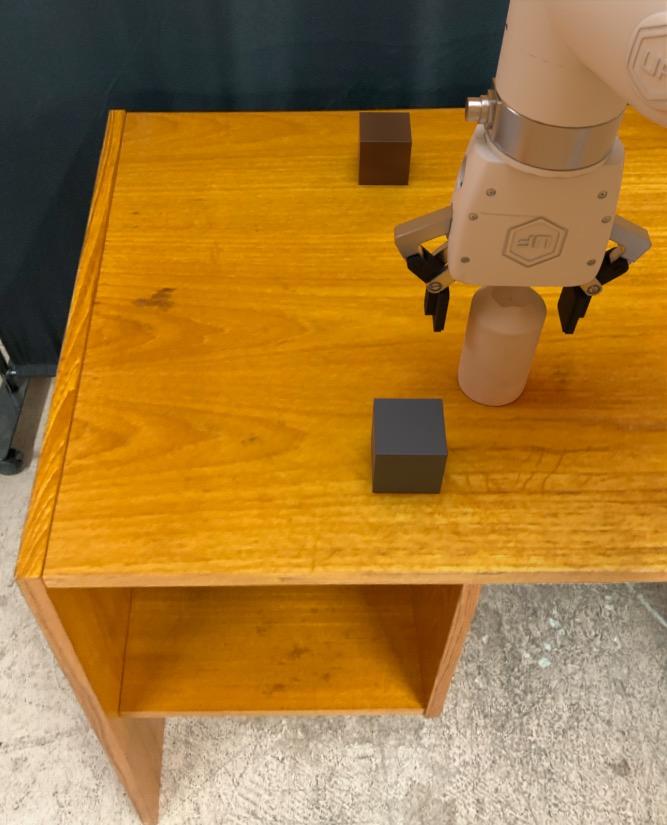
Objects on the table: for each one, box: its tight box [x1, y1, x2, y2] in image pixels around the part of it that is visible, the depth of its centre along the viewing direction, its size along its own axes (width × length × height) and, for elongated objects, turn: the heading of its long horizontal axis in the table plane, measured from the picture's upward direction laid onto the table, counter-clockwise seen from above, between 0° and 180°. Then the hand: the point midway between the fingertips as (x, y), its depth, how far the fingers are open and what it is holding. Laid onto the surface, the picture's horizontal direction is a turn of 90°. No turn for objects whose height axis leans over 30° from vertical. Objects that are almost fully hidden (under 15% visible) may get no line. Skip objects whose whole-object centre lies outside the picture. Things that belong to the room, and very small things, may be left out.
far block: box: [357, 111, 413, 186], centre depth 82 cm, size 5×5×5 cm
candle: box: [457, 285, 548, 407], centre depth 63 cm, size 6×6×10 cm
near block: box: [370, 397, 449, 494], centre depth 60 cm, size 5×5×5 cm
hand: (500, 319), depth 62 cm, fingers open, 9 cm apart
